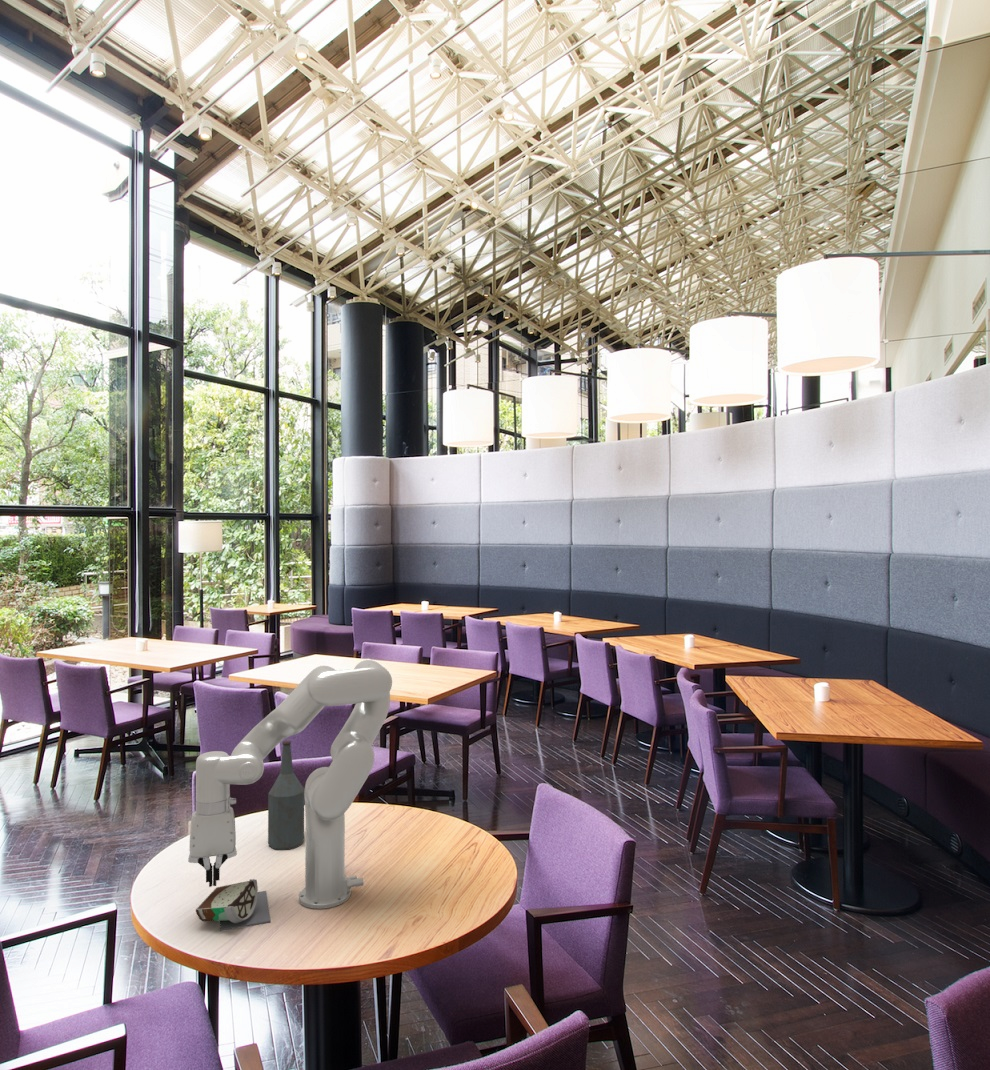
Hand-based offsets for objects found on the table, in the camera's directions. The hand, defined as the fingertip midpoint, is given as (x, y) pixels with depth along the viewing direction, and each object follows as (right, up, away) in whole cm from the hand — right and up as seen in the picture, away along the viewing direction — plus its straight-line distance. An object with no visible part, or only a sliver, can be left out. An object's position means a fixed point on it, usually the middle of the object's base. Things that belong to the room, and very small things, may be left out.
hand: (212, 883), depth 173 cm
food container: (-1, -6, -1) cm, 6 cm away
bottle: (+5, -9, +42) cm, 44 cm away
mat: (+7, -8, +2) cm, 10 cm away
